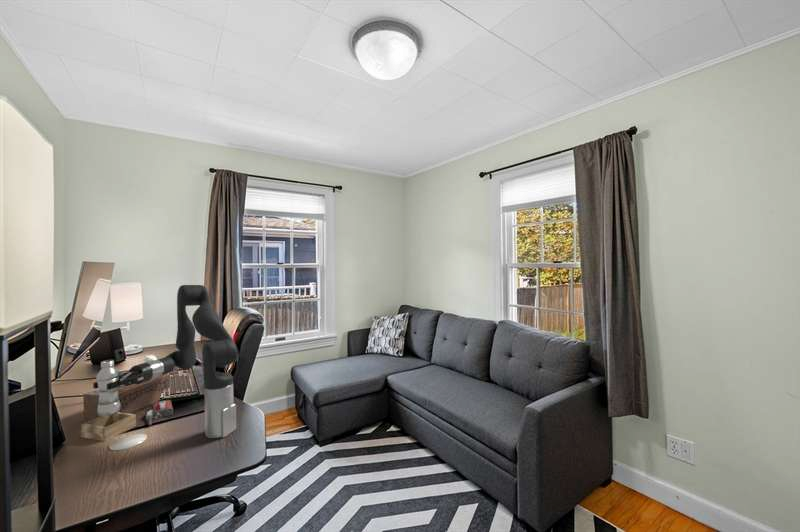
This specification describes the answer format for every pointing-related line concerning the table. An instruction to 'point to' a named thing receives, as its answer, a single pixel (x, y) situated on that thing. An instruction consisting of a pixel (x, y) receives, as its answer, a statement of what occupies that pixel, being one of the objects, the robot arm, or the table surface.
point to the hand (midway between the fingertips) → (100, 386)
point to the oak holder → (104, 432)
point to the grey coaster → (128, 442)
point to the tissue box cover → (129, 396)
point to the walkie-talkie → (159, 410)
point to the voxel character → (150, 358)
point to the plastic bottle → (108, 398)
